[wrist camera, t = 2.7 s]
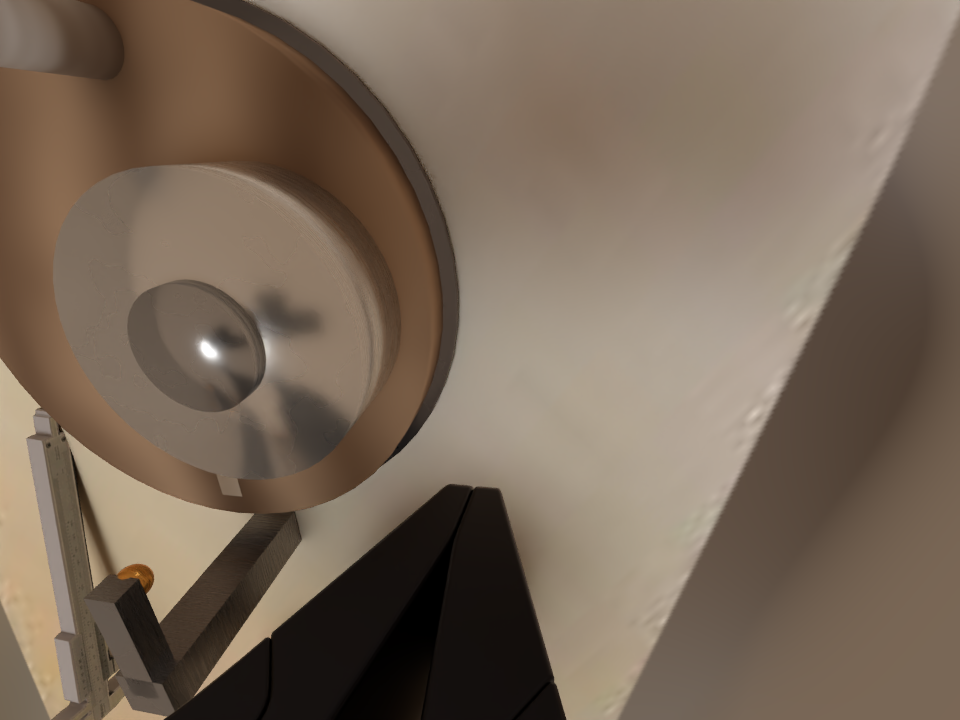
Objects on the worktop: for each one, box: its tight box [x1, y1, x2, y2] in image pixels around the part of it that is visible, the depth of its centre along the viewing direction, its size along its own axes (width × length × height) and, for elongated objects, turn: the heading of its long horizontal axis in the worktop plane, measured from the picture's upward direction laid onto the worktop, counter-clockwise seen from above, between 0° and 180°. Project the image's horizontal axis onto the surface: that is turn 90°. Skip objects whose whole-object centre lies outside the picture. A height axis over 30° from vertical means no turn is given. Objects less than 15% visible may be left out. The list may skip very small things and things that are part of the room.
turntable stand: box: [84, 0, 459, 717], centre depth 17 cm, size 21×24×9 cm
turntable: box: [0, 0, 443, 514], centre depth 18 cm, size 20×20×6 cm
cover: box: [53, 161, 401, 480], centre depth 16 cm, size 10×10×4 cm
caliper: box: [26, 409, 125, 720], centre depth 27 cm, size 20×1×6 cm, turn 178°
